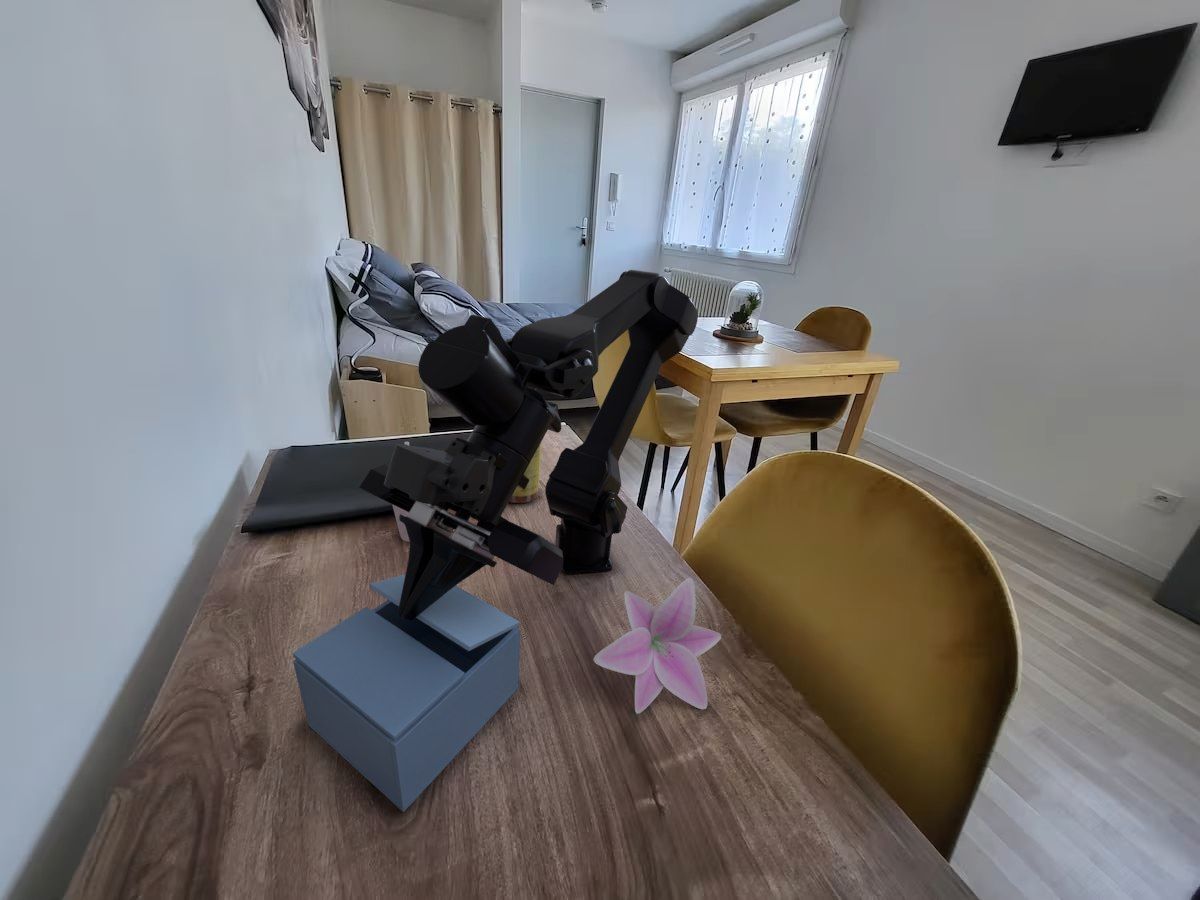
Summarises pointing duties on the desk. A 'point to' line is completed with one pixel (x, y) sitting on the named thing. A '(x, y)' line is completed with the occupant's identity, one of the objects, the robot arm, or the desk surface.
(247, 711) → the desk surface
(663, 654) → the lily
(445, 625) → the flap
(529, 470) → the sauce bottle
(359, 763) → the carton
